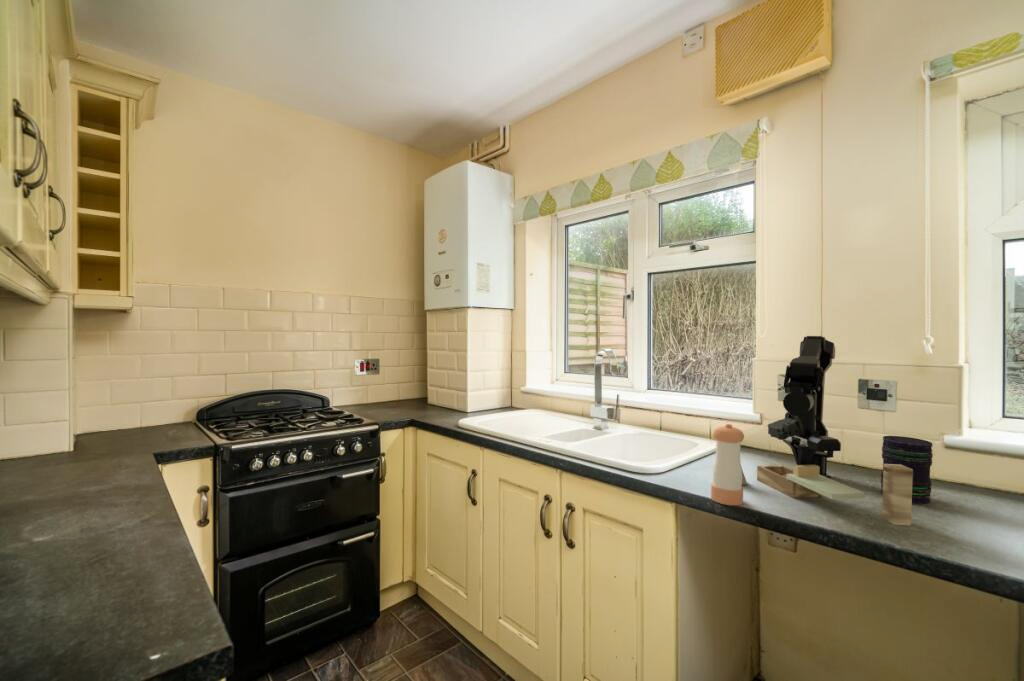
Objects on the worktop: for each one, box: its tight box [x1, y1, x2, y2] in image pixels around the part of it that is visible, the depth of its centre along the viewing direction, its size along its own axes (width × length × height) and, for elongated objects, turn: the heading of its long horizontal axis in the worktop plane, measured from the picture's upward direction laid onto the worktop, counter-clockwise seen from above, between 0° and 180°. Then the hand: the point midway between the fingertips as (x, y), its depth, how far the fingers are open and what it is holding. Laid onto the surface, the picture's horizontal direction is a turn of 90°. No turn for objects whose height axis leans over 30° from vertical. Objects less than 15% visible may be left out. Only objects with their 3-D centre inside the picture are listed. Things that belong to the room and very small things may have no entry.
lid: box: [786, 464, 866, 500], centre depth 111 cm, size 8×14×4 cm, turn 7°
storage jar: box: [880, 435, 933, 506], centre depth 117 cm, size 10×10×15 cm
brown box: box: [881, 464, 913, 526], centre depth 102 cm, size 4×4×12 cm
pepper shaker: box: [710, 423, 745, 506], centre depth 113 cm, size 7×7×19 cm
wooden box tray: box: [756, 464, 822, 499], centre depth 123 cm, size 8×14×4 cm, turn 7°
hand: (800, 469), depth 118 cm, fingers closed
